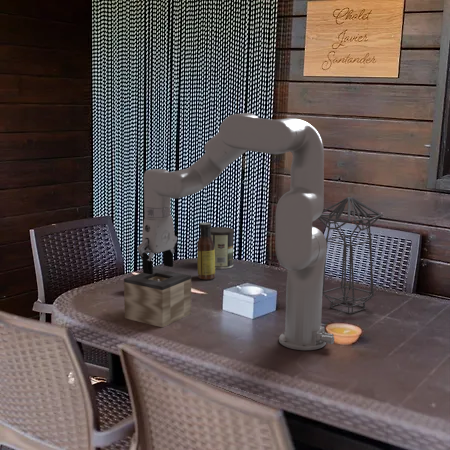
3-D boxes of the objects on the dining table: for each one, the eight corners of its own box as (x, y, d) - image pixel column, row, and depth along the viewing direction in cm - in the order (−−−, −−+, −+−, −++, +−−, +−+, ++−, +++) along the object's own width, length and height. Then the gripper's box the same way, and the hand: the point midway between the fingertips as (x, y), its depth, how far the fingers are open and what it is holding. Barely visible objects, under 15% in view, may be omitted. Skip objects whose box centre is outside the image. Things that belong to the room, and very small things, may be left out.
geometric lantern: (350, 320, 203) (352, 203, 196) (311, 307, 215) (312, 197, 208) (383, 308, 213) (387, 197, 206) (344, 297, 225) (346, 191, 218)
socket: (191, 314, 206) (191, 275, 204) (162, 327, 195) (162, 286, 192) (154, 305, 214) (153, 268, 211) (124, 318, 202) (124, 278, 200)
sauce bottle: (218, 277, 246) (219, 222, 242) (208, 281, 240) (209, 225, 236) (203, 274, 249) (203, 220, 245) (193, 278, 244) (193, 223, 240)
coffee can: (224, 261, 268) (225, 225, 266) (238, 267, 260) (239, 230, 257) (201, 264, 263) (201, 228, 260) (214, 270, 255) (215, 233, 252)
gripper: (149, 218, 189) (150, 278, 192) (185, 209, 203) (186, 265, 206) (128, 215, 193) (129, 274, 196) (165, 206, 207) (166, 261, 210)
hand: (158, 269), depth 201 cm, fingers open, 9 cm apart
